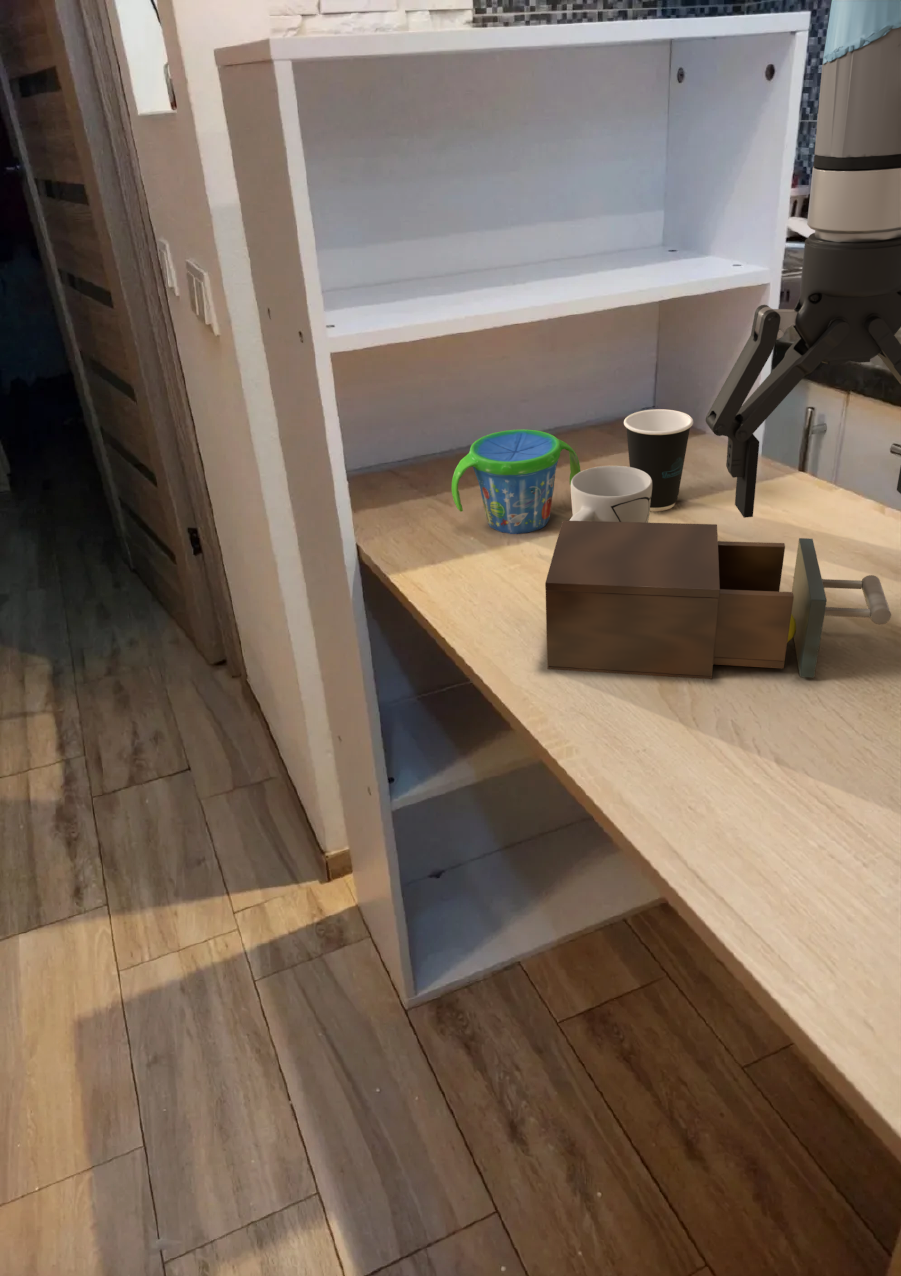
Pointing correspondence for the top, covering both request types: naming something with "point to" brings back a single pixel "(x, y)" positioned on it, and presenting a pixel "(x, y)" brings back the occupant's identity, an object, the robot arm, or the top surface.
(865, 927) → the top surface
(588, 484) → the mug
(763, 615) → the drawer
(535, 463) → the snack cup
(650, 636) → the cabinet
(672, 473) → the dixie cup
